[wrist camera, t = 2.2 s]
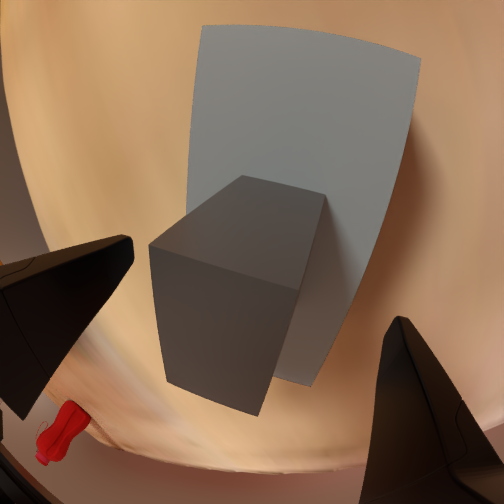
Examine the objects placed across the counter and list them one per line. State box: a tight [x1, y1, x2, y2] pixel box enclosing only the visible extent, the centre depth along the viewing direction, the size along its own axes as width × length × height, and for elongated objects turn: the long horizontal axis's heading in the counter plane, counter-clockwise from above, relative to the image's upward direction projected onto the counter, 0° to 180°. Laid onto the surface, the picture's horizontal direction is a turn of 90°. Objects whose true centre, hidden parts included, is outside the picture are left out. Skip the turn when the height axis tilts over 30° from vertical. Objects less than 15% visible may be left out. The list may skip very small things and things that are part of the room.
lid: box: [149, 25, 421, 417], centre depth 9 cm, size 16×7×6 cm, turn 173°
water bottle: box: [35, 400, 91, 466], centre depth 55 cm, size 9×11×25 cm
